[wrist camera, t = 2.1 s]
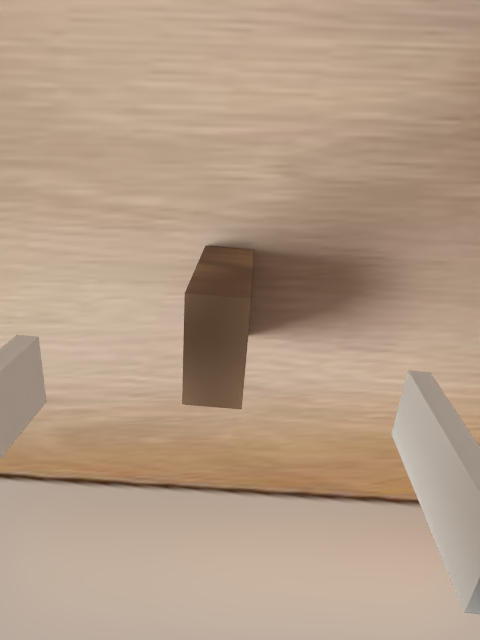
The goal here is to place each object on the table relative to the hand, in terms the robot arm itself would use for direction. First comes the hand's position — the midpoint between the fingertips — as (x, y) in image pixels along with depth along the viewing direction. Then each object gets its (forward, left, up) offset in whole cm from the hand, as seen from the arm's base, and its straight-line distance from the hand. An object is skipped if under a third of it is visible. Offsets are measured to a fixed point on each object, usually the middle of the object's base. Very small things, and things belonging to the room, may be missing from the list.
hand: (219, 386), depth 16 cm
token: (0, 0, -9) cm, 9 cm away
